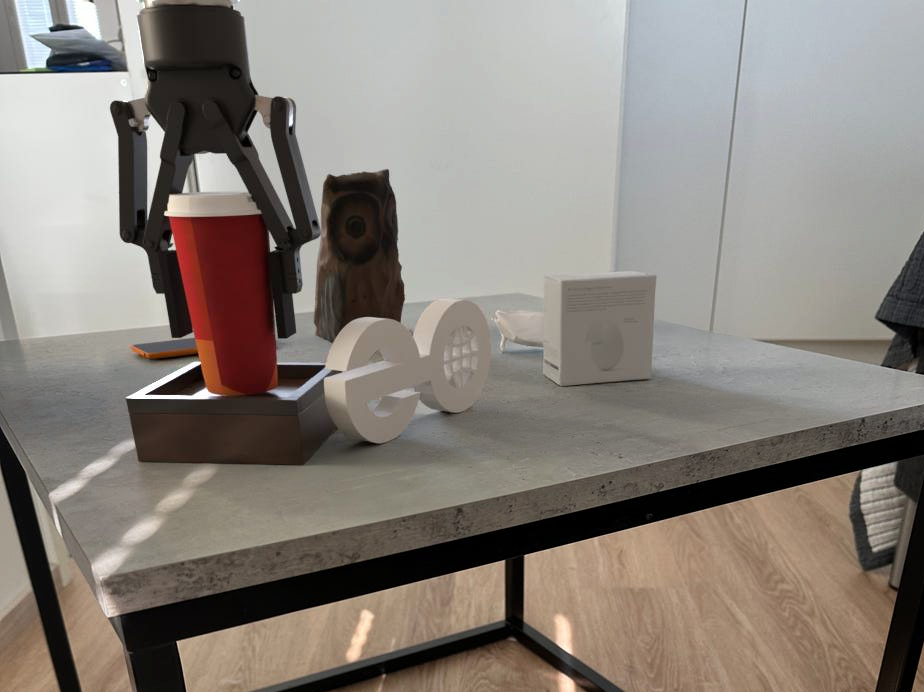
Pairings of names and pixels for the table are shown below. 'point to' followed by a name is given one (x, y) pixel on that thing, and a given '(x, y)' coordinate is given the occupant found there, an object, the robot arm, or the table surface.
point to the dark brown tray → (232, 419)
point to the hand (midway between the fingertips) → (234, 335)
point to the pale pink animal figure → (520, 327)
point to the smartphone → (166, 348)
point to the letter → (407, 368)
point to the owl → (357, 253)
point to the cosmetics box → (598, 327)
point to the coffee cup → (227, 288)
